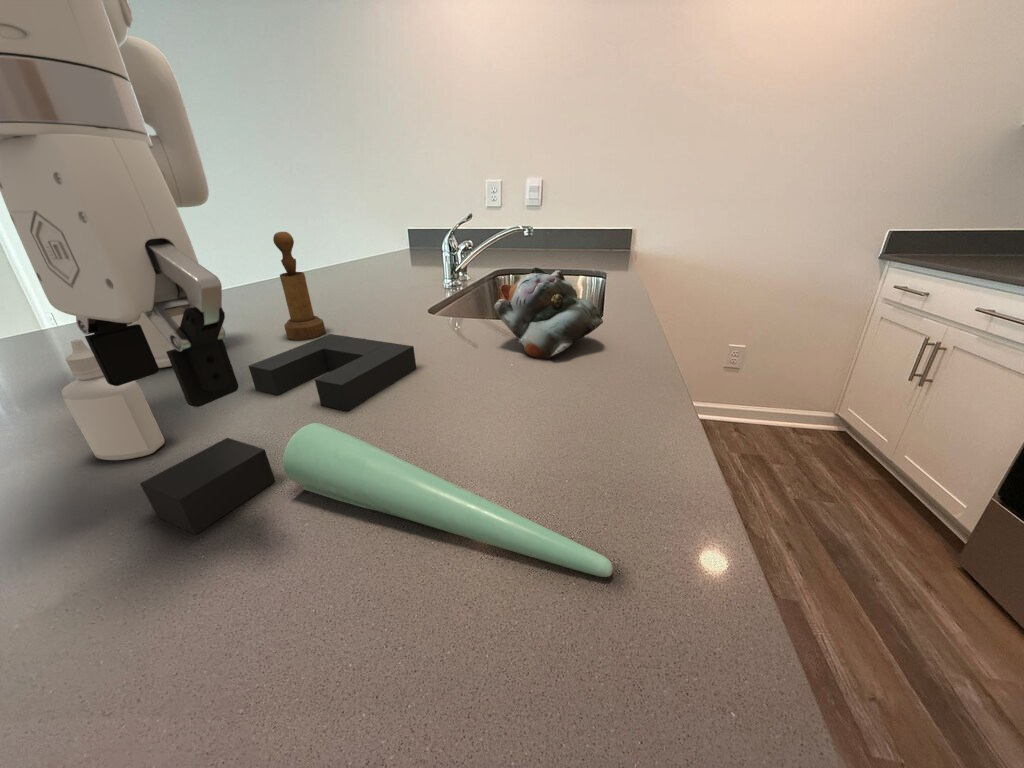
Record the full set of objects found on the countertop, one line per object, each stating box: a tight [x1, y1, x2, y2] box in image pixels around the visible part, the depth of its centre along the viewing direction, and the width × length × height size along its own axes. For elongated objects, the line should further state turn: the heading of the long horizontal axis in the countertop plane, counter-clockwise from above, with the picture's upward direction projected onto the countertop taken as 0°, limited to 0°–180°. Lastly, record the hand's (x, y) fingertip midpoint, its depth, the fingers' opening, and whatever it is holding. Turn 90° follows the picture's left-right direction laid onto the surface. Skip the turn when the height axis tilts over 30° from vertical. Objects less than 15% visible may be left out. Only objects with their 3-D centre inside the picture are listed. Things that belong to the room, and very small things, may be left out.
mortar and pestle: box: [273, 231, 326, 341], centre depth 72 cm, size 7×6×18 cm
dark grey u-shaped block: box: [247, 333, 417, 412], centre depth 56 cm, size 16×14×4 cm
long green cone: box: [282, 422, 614, 578], centre depth 31 cm, size 5×6×27 cm
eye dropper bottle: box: [61, 339, 165, 461], centre depth 39 cm, size 4×6×12 cm
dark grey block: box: [139, 437, 276, 535], centre depth 34 cm, size 5×7×4 cm
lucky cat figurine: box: [493, 267, 604, 360], centre depth 66 cm, size 15×12×14 cm
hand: (173, 387), depth 30 cm, fingers open, 9 cm apart
